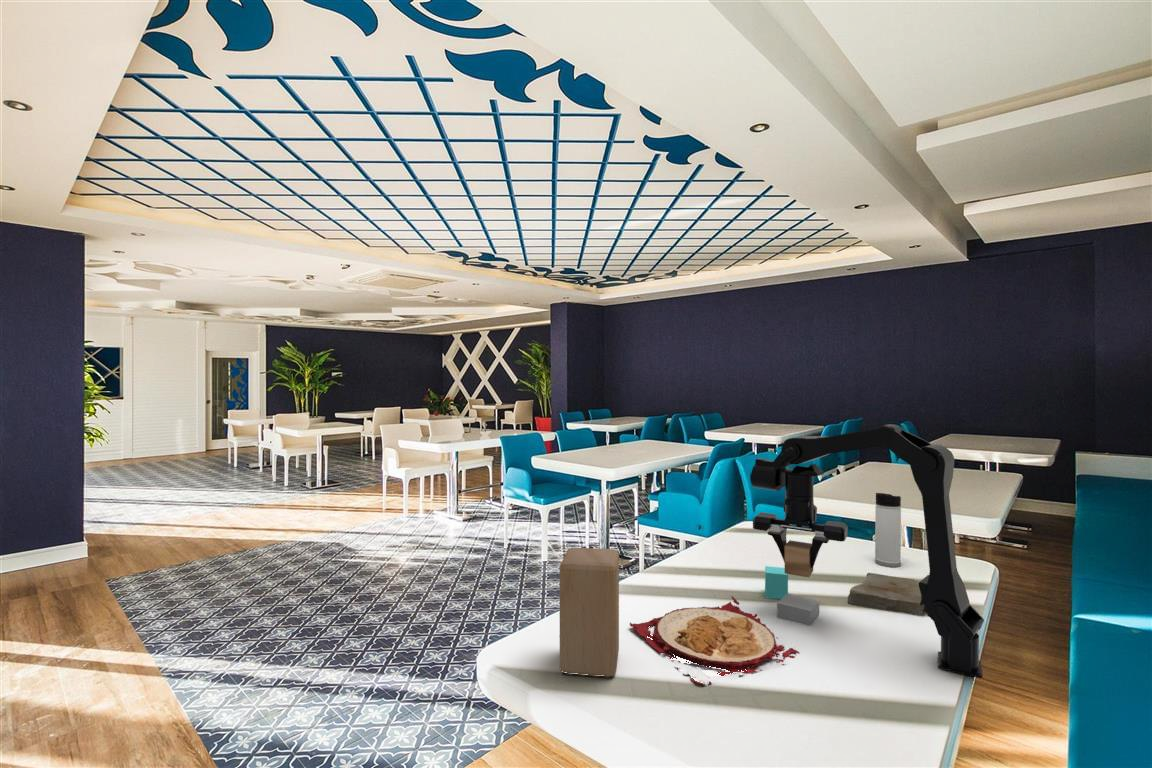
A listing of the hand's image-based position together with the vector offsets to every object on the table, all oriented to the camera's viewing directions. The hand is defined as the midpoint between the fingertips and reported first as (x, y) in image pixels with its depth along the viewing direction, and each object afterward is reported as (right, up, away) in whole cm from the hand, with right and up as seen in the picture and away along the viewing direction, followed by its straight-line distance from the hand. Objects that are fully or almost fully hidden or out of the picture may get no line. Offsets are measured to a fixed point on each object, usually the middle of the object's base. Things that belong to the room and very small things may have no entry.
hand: (798, 565), depth 124 cm
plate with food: (-21, -12, -12) cm, 27 cm away
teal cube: (-1, -11, +12) cm, 17 cm away
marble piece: (+25, -12, +9) cm, 29 cm away
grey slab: (0, -12, 0) cm, 12 cm away
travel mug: (+39, -11, +35) cm, 53 cm away
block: (-46, -12, -20) cm, 52 cm away
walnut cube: (0, -2, 0) cm, 2 cm away
